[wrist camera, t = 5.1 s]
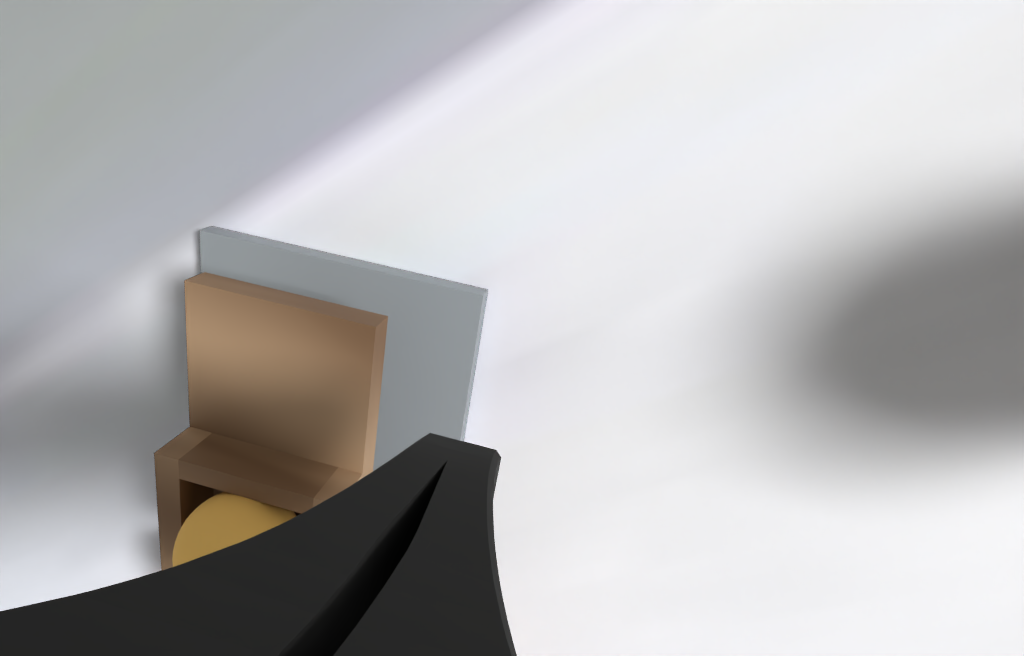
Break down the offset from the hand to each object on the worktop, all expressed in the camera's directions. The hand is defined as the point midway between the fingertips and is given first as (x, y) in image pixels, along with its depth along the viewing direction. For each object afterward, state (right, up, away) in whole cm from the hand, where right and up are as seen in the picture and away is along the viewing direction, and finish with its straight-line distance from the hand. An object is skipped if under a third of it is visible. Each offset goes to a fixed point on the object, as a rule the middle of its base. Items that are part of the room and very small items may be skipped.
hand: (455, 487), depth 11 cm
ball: (-6, -3, +6) cm, 9 cm away
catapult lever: (-6, -2, +8) cm, 10 cm away
